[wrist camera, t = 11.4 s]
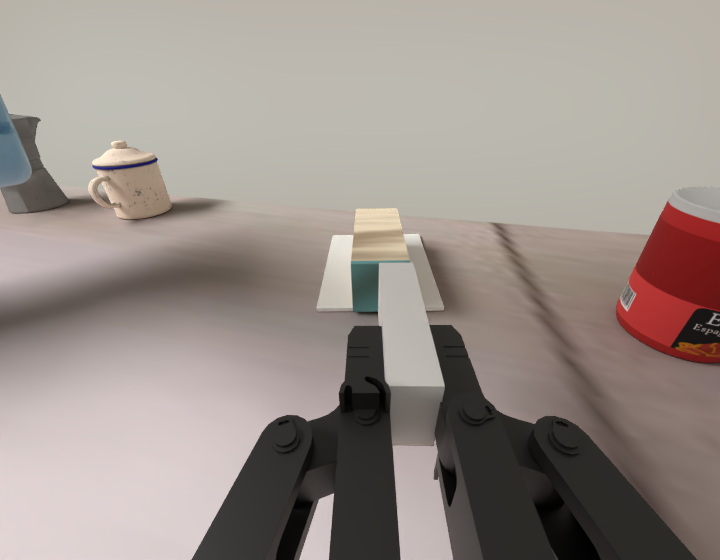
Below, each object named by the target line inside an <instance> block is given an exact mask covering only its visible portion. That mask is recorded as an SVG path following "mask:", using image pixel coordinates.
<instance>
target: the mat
mask: <svg viewBox="0 0 720 560" xmlns="http://www.w3.org/2000/svg"><path fill="white" fill-rule="evenodd" d="M403 235H404V239H405V243H406V248H407V252H408V256H409V260H410V263H414V267H415V271H416V275H417V279H418V283H419V286H420V290H421V294H422V298H423V302H424V306H425V310H426V311H444V305H443V302H442V299H441V296H440V293H439V291H438V288H437V285H436V282H435V279H434V276H433V273H432V270H431V268H430V265H429V262H428V259H427V256H426V253H425V250H424V248H423V245H422V242H421V239H420V236H419V234H403ZM352 245H353V235H333V238H332V242H331V246H330V251H329V255H328V259H327V264H326V268H325V272H324V277H323V281H322V285H321V290H320V294H319V298H318V303H317V307H316V310H317V312H333V311H353V304H352V282H351V256H352Z"/></svg>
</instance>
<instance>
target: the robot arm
mask: <svg viewBox="0 0 720 560" xmlns="http://www.w3.org/2000/svg"><path fill="white" fill-rule="evenodd" d="M31 174H32V169H31V165H30V162H29V160H28V157H27V155H26V152H25V150H24V148H23V145H22V143H21V141H20V138H19V136H18V133H17V131H16V129H15V127H14V124H13V122H12V120H11V117H10V115H9V113H8V111H7V108H6V106H5V104H4V101H3V99H2V97H1V95H0V188H1V187H6V186H12V185H18V184H22V183H24V182H26V181H27V180H28V179H29V178H30V176H31ZM378 321H379V326H354V328H353V329H352V331H351V332H350V334H349V335H348V345H347V359H346V372H345V381H344V382H343V384H342V385H341V388H340V391H339V401H340V405H339V406H338V407H337V408H336V409H335V410H334V411H333V412H331V413H330V414H328V415H326V416H323V417H321V418H318V419H314V420H311V421H308V422H307V421H306V420H305V419H303V418H301V417H299V416H297V415H286V416H283V417H279V418H277V419H276V420H274V421H273V422H271V423H270V424H268V426H267V427H266V428H265V430H264V431H263V432H262V434H261V435H260V437H259V439H258V441H257V443H256V445H255V446H254V448H253V450H252V452H251V454H250V455H249V457H248V459H247V461H246V463H245V464H244V466H243V468H242V470H241V472H240V473H239V475H238V477H237V479H236V481H235V482H234V484H233V486H232V488H231V490H230V491H229V493H228V495H227V497H226V499H225V500H224V502H223V504H222V506H221V508H220V509H219V511H218V513H217V515H216V517H215V518H214V520H213V522H212V524H211V526H210V527H209V529H208V531H207V533H206V535H205V537H204V538H203V540H202V542H201V544H200V546H199V547H198V549H197V551H196V553H195V555H194V556H193V558H192V560H299V558H300V555H301V552H302V549H303V546H304V543H305V540H306V537H307V534H308V531H309V528H310V525H311V522H312V519H313V516H314V512H315V509H316V506H317V503H318V500H319V499H320V498H322V497H325V496H328V495H330V494H333V493H334V502H333V515H332V528H331V541H330V554H329V560H400V546H399V532H398V518H397V504H396V490H395V476H394V462H393V448H392V445H409V446H434V440H435V438H436V443H437V449H438V455H437V460H436V464H435V469H434V480H438V476H439V481H440V487H441V493H442V498H443V504H444V509H445V515H446V521H447V526H448V532H449V538H450V543H451V549H452V554H453V560H697V559H696V558H695V557H694V556H693V555H692V553H691V552H690V551H689V550H688V549H687V548H686V547H685V545H684V544H683V543H682V542H681V541H680V540H679V539H678V537H677V536H676V535H675V534H674V533H673V532H672V531H671V530H670V528H669V527H668V526H667V525H666V524H665V523H664V522H663V520H662V519H661V518H660V517H659V516H658V515H657V514H656V512H655V511H654V510H653V509H652V508H651V507H650V506H649V504H648V503H647V502H646V501H645V500H644V499H643V498H642V497H641V495H640V494H639V493H638V492H637V491H636V490H635V489H634V487H633V486H632V485H631V484H630V483H629V482H628V481H627V479H626V478H625V477H624V476H623V475H622V474H621V473H620V472H619V470H618V469H617V468H616V467H615V466H614V465H613V464H612V462H611V461H610V460H609V459H608V458H607V457H606V456H605V454H604V453H603V452H602V451H601V450H600V449H599V448H598V446H597V445H596V444H595V443H594V442H593V441H592V440H591V439H590V437H589V436H588V435H587V434H586V433H585V432H584V431H583V430H581V429H580V428H579V427H578V426H577V425H575V424H573V423H572V422H570V421H568V420H566V419H563V418H559V417H556V416H545V417H543V418H541V419H539V420H537V422H536V424H532V423H529V422H525V421H522V420H518V419H515V418H512V417H509V416H506V415H504V414H502V413H501V412H499V411H497V410H496V409H495V407H494V405H492V404H491V403H490V402H489V401H488V400H487V399H485V397H484V395H483V393H482V391H481V388H480V386H479V383H478V380H477V377H476V375H475V372H474V369H473V367H472V364H471V361H470V358H468V353H467V350H466V348H465V345H464V342H463V340H462V337H461V335H460V334H459V333H458V331H457V330H456V329H455V328H454V327H453V326H452V325H429V322H428V318H427V314H426V310H425V306H424V302H423V298H422V294H421V290H420V286H419V283H418V279H417V275H416V271H415V267H414V263H379V290H378Z"/></svg>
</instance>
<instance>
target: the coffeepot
mask: <svg viewBox="0 0 720 560" xmlns="http://www.w3.org/2000/svg"><path fill="white" fill-rule="evenodd" d="M9 115H10V117H11V120H12V122H13V124H14V127H15V129H16V131H17V133H18V136H19V138H20V141H21V143H22V145H23V148H24V150H25V152H26V155H27V157H28V160H29V162H30V165H31V169H32V174H31V176H30V178H29V179H28V180H27V181H26V182H24V183H22V184H18V185H12V186H6V187H1V188H0V189H1V192H2V194H3V197H4V199H5V202H6V204H7V207H8V209H9V212H11V213H19V214H21V213H32V212H39V211H44V210H49V209H53V208H56V207H59V206H62V205H65V204H66V203H68V202H69V200H68V198H67V197H66V196H65V194H64V193H63V192H62V190H61V189H60V188H59V186H58V185H57V184H56V182H55V181H54V179H53V178H52V177H51V175H50V174H49V173H48V171H47V170H46V169H45V168H44V167H43V164H42V162H41V160H40V155H39V152H38V149H37V146H36V144H35V135H36V128H37V124H38V122H39V121H40V119H39V118H37V117H30V116H22V115H13V114H9Z"/></svg>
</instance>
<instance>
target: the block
mask: <svg viewBox="0 0 720 560" xmlns="http://www.w3.org/2000/svg"><path fill="white" fill-rule="evenodd" d="M379 263H410V260H409V256H408V252H407V248H406V243H405V239H404V235H403V231H402V227H401V222H400V218H399V214H398V211H397V208H387V209H386V208H382V209H356V214H355V225H354V235H353V245H352V256H351V282H352V304H353V312H378V290H379Z"/></svg>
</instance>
